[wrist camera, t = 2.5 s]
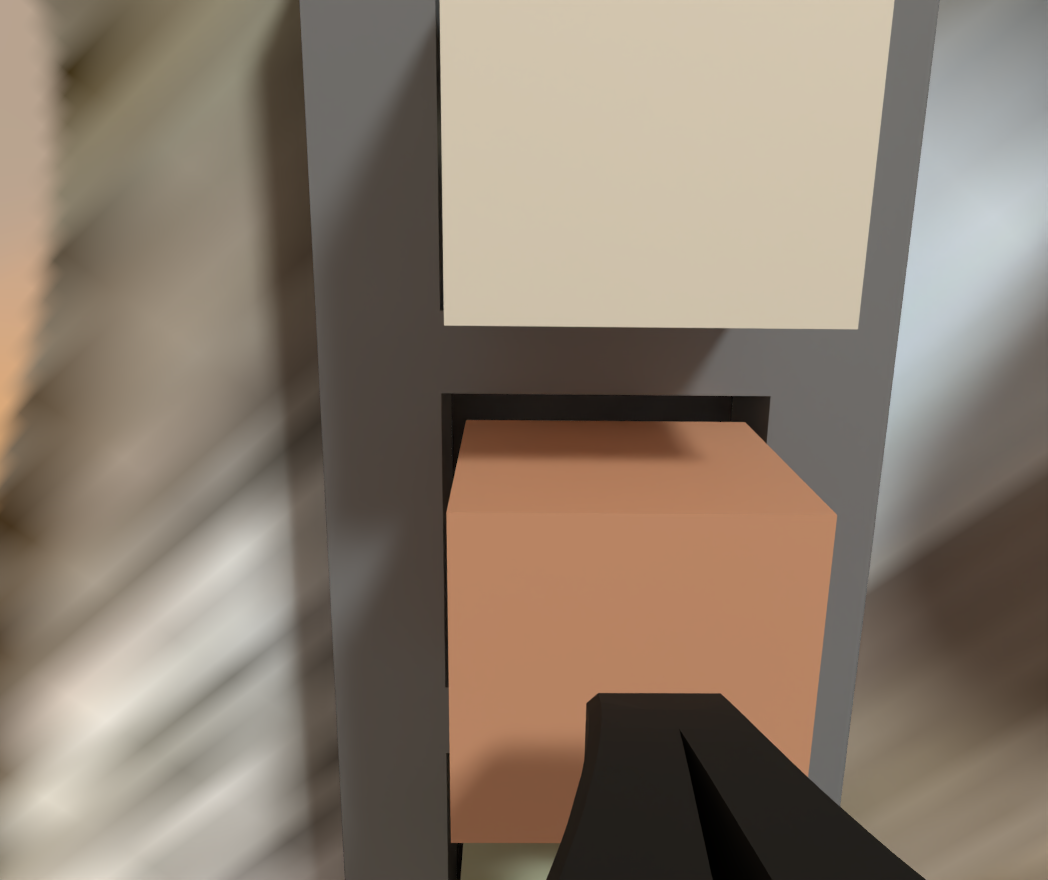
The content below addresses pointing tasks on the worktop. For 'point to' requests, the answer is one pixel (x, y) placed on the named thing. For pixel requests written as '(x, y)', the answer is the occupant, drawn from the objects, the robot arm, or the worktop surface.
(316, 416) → the worktop surface
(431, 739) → the compartment tray
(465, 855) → the block sage
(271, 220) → the worktop surface
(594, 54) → the block cream
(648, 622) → the block terracotta
